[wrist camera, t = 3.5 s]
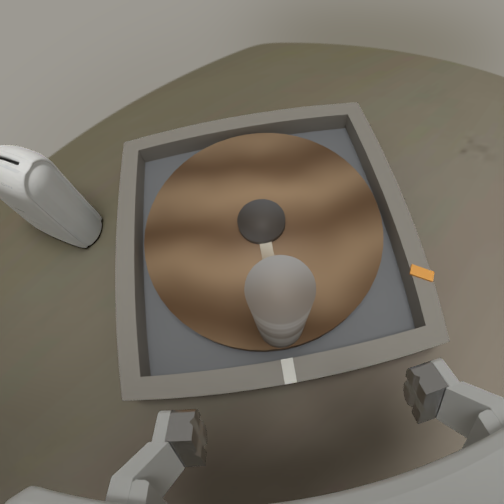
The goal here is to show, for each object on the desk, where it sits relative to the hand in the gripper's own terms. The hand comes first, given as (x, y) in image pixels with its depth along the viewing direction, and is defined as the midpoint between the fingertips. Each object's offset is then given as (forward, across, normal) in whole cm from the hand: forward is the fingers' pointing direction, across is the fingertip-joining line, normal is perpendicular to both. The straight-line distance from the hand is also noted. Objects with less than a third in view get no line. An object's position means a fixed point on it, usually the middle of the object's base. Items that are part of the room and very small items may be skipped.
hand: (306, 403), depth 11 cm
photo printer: (+22, +20, -4) cm, 30 cm away
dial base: (+18, 0, 0) cm, 18 cm away
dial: (+17, 0, -1) cm, 17 cm away
